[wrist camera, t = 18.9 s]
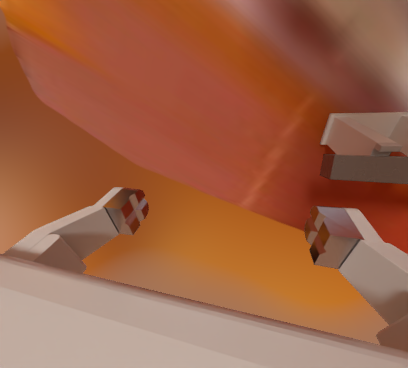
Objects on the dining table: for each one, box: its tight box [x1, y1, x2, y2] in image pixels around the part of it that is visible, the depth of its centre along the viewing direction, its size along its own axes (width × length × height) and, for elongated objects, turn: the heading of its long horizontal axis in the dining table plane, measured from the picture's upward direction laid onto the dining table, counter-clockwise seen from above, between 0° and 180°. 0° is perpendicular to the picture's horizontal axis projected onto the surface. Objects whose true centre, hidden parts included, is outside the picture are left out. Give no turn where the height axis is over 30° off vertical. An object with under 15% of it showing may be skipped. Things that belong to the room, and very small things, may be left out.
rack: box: [320, 112, 408, 156], centre depth 31 cm, size 7×16×18 cm, turn 94°
